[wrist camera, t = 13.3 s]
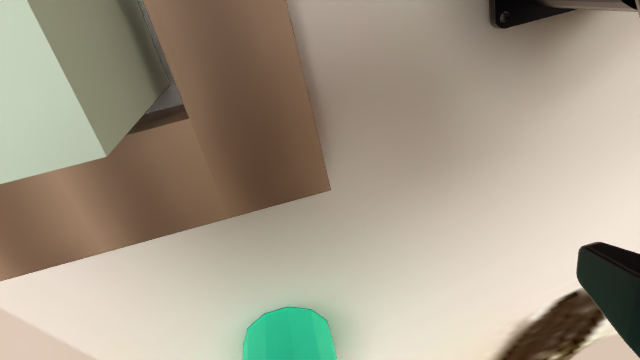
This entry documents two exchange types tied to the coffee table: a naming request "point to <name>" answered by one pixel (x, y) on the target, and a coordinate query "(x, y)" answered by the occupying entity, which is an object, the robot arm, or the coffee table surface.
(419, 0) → the coffee table surface
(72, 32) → the sage peg
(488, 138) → the coffee table surface
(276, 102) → the walnut well block
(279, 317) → the candle
